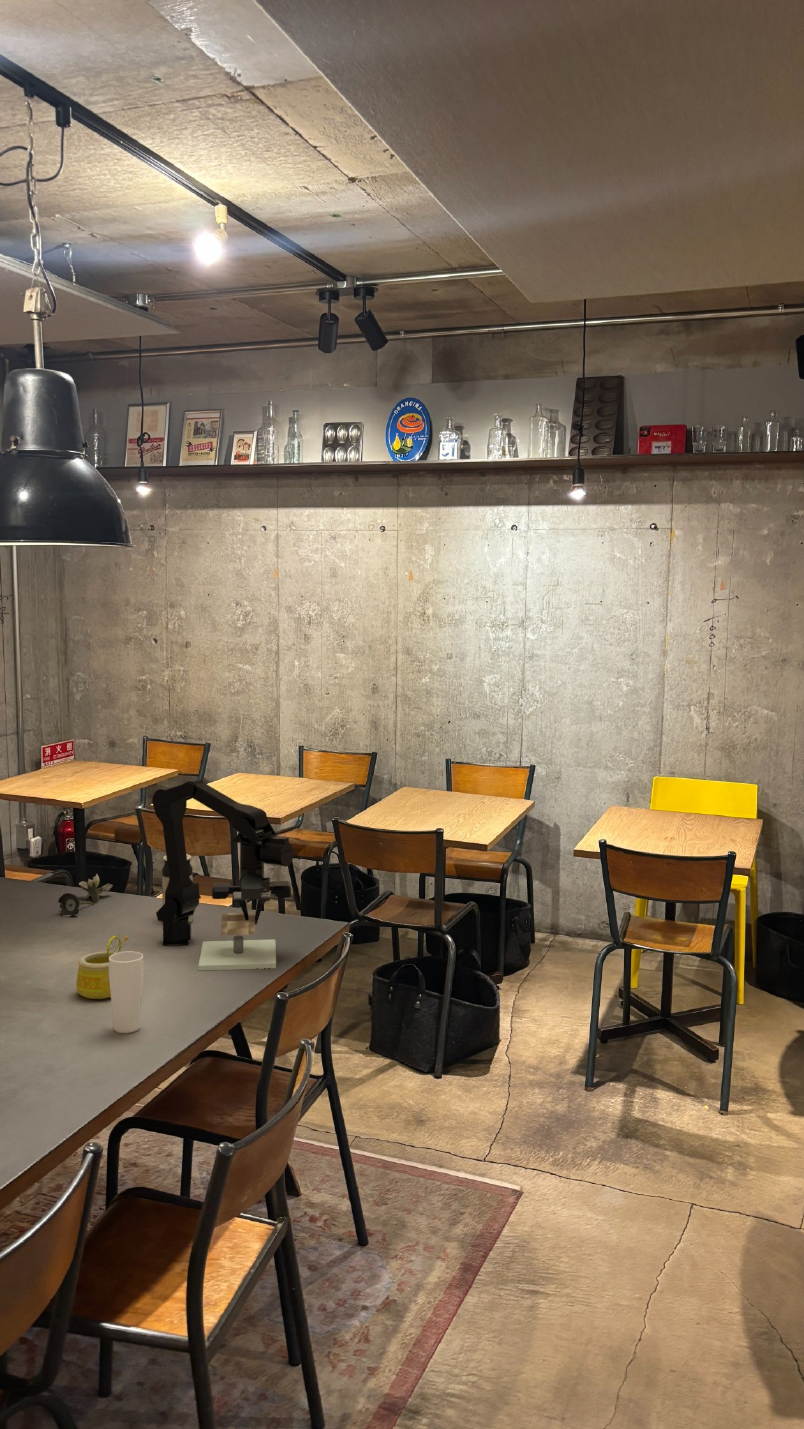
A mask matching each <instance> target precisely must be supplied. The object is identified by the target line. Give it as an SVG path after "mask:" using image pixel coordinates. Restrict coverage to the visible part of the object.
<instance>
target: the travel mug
mask: <svg viewBox="0 0 804 1429" xmlns="http://www.w3.org/2000/svg"><path fill="white" fill-rule="evenodd" d="M186 856H187V864H188V872H189V877H190V879H191V880H192V882H193V883H194V881H193V880H194V878H193V866H192V864H191V859H192V856H191V855H190V854H188V853H186ZM162 859H163V861H164V862H163V863H164V865H163V867H162V868H161V872H162V873H161V876H162V877H161V878H162V880H161V882H162V883H161V886H162V888H161V889H162V891H161V892H162V894H161V895H162V898H161V899H162V906H163V905H164V904H165V891H166V888H167V885H168V882H169V874H168V865H167V857H166V855H164V856H163V857H162ZM193 916H194V914H193V915H191V916H189V922H191V923H192V922H193V919H194V917H193Z"/></svg>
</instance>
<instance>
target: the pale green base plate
mask: <svg viewBox="0 0 804 1429" xmlns="http://www.w3.org/2000/svg"><path fill="white" fill-rule="evenodd" d="M276 943H277V942H276V939H247V940H246V939H244V935H233V939H232V940H209V941H207V940H206V941H205V940H203V941H202V945H201V949H200V957H199V961H198V968H197V970H198V971H228V970H229V971H230V970H233V971H234V970H263V969H264V968H266V970H267V969H268V968H270V969H277V954H276V953H277V949H276V947H277V946H276ZM257 968H258V969H257Z"/></svg>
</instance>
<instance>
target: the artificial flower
mask: <svg viewBox="0 0 804 1429" xmlns="http://www.w3.org/2000/svg"><path fill="white" fill-rule="evenodd" d="M99 884H100V877H99V875H98V873H95V876H93V877H92V879H90V878H88V880H87V881H80V882H79V883H78V885H79V886H80V887H81V889H82V890H84V891H85V892H87V893H88V894H87V895H85V898H91V899H92V901H93V902H87V901H85V902H84V901H82V902H80V898H79V897H78V896H77V895H76V894H73V893H69V892H66V893H64V894H62V895H61V896H60V897H59V899H58V901H57V903H59V908H60V910H58V913H59V914H60V915H61V916H62V917H63V915H71V916H70V917H69V918H71V917H74V916H77V915H78V914H79V912H80V909H79V908H80V906H81V905H91V906H92V905H93V906H94V904H95V905H97V903H98V901H99V900H100V895H102V893H104V892H105V893H106V892H109V891H110V890H111V889H112V888H113V884H110V883H107V884H105V885H103V886H101V887H99ZM90 896H91V897H90ZM72 915H73V916H72Z"/></svg>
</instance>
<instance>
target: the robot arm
mask: <svg viewBox="0 0 804 1429" xmlns="http://www.w3.org/2000/svg"><path fill="white" fill-rule="evenodd" d="M192 799H194V800H195V801H197V802H198V803H200V804H202V805H203V806H205V807H207V808H208V809H209V810H211V811H213V812H215V813H217V814H218V815H220V816H221V817H223V818H225V819H226V820H227V821H228V823H229V824H230V826H231V827H232V828H233V829H234V830H235V831H236V832H237V835H236V836H235V837H233V838H232V839H231V842H232V843H239V881H238V882H239V885H230V881H219V882H218V881H216V882H214V883H213V885H212V890H211V891H212V892H211V893H212V895H211V898H212V900H213V899H214V900H226V899H227V898H228V897H229V896H230V895H232V896H233V898H232V899H233V902H234V903H238V905H239V907H240V909H241V910H242V913H243V914H244V917H245V920H249V914H248V913H249V908H248V900H256V906H255V907H256V908H255V926H257V924H258V921H259V918H260V916H261V912H262V909H263V907H264V906H265V904H266V902H269V901H271V894H274V896H275V897H276V898H278V899H281V898H282V899H285V898H286V899H288V898H291V897H292V895H291V894H292V886H291V885H292V884H291V882H290V880H274V884H273V885H272V884H271V883H270V881H271V880H270V879H271V878H270V877H265V870H264V869H265V865H271V866H280V867H289V866H291V864H292V862H293V860H294V855H295V850H294V848H293V844H291V843H290V838H289V837H286V836H283V837H282V836H281V837H280V836H278V835H277V833H276V831H275V829H274V828H273V826H272V824H271V823H270V821H269V819H268V816H267V812H266V811H265V810H263V809H261V808H259V807H258V806H257V807H256V806H254V805H250V804H243V803H241V802H238V801H236V800H235V799H233V798H231V797H229V796H228V795H225V794H224V793H222V792H221V791H219V790H217V789H216V788H214V787H212V786H210V785H209V784H207V783H205V781H204V780H203V779H200V778H197V779H191V780H188V781H186V782H184V783H182V784H179V785H172V786H168V787H164V788H160V789H159V788H158V789H157V790H155V792H154V793H153V794H152V797H151V802H152V803H151V804H152V807H153V810H154V814H155V816H156V817H157V819H158V820H159V821H160V823H161V825H162V831H163V838H164V847H165V856H166V857H167V865H168V874H169V882H168V885H167V888H166V891H165V904H164V905H163V904H162V906H161V907H159V909H158V910H157V911H156V912H155V913H156V914H155V915H156V919H157V921H158V922H162V942H161V946H187V945H189V943H190V941H191V939H192V922H189V916H191V915H193V916H194V913H195V911H196V909H197V907H198V906H199V904H200V899H202V896H201V894H200V885H199V883H198V882H195V883H194V881H193V882H192V880H191V879H190V877H189V872H188V864H187V856H186V854H187V848H186V842H185V832H184V823H183V820H184V818H185V814H186V811H187V801H189V800H192Z"/></svg>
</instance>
